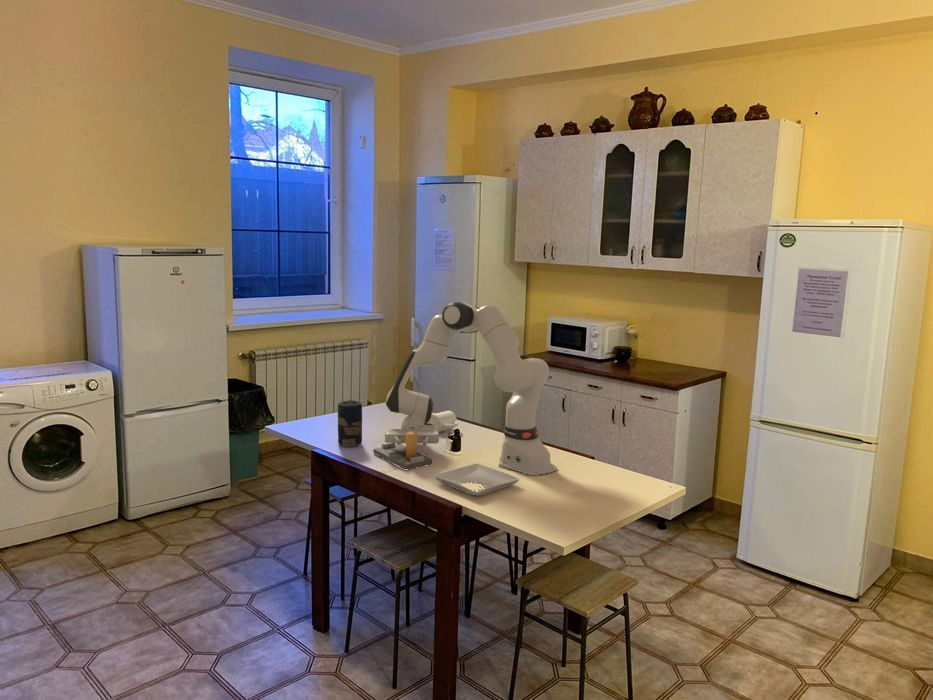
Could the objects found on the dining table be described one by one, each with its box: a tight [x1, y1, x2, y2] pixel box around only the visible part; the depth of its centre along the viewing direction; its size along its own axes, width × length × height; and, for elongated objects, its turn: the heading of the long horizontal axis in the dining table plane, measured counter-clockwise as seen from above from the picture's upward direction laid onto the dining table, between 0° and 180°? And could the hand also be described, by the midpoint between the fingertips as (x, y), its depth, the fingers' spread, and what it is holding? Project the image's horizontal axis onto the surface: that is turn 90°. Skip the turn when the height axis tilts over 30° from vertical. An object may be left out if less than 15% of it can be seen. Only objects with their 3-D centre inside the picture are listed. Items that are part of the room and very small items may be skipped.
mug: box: [427, 410, 459, 433], centre depth 303 cm, size 12×10×8 cm
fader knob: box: [405, 432, 418, 459], centre depth 260 cm, size 4×4×9 cm
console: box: [373, 442, 433, 470], centre depth 266 cm, size 22×12×4 cm, turn 38°
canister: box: [337, 399, 363, 447], centre depth 280 cm, size 10×10×18 cm
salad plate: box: [434, 463, 520, 497], centre depth 242 cm, size 21×21×3 cm
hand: (411, 442), depth 260 cm, fingers open, 8 cm apart
